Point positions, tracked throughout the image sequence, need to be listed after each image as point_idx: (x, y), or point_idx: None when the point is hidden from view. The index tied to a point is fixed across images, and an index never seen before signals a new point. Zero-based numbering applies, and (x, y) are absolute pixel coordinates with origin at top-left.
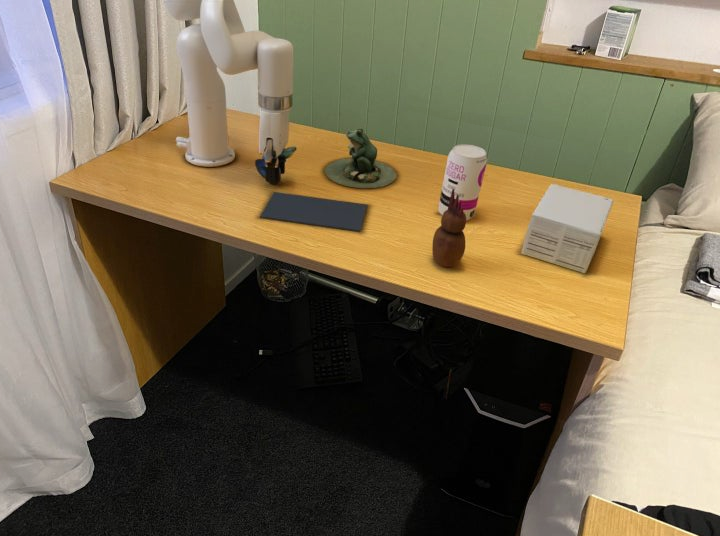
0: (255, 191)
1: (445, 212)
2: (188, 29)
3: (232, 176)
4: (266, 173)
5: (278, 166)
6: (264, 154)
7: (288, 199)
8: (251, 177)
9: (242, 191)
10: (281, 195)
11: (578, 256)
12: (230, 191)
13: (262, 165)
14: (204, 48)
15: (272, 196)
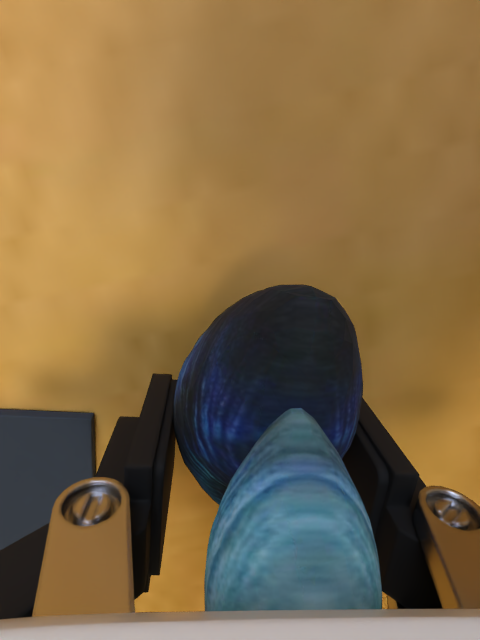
0: (86, 283)
1: None
2: None
3: (324, 12)
4: (142, 415)
5: (149, 582)
6: (277, 497)
7: (15, 514)
8: (324, 201)
9: (50, 178)
10: (55, 469)
11: None
12: (11, 62)
13: (205, 395)
14: None
15: (18, 421)
